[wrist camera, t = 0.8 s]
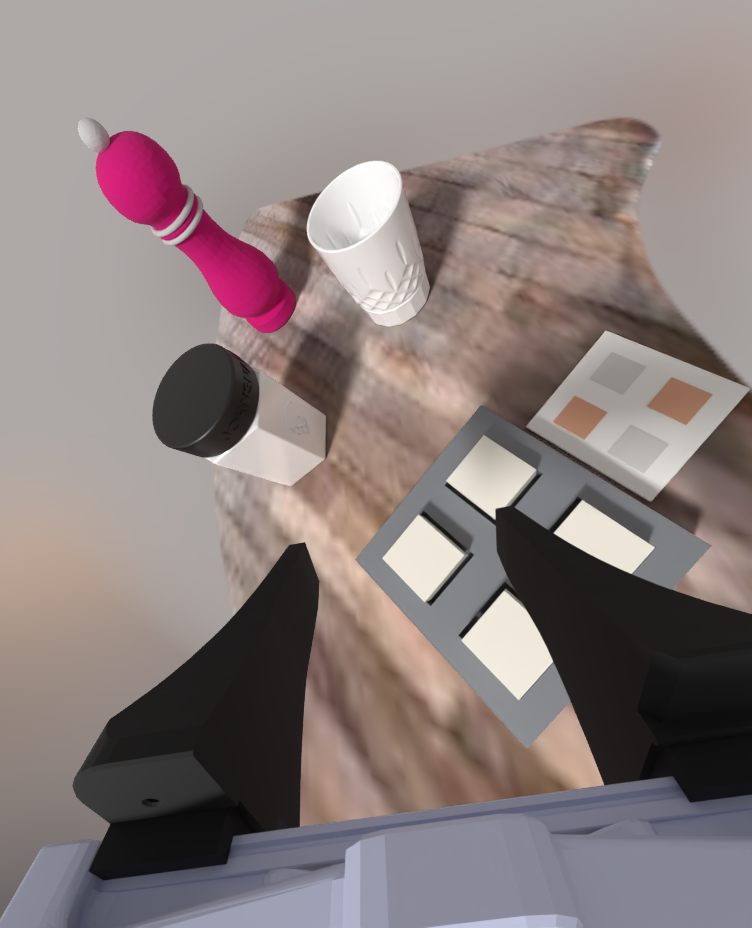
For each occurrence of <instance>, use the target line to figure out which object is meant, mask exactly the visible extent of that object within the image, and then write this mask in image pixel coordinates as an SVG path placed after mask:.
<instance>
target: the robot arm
mask: <svg viewBox="0 0 752 928" xmlns="http://www.w3.org/2000/svg"><path fill="white" fill-rule="evenodd" d="M495 516H496V546H497V553H498V556H499V558H500V561H501V563H502V565H503V568H504V570H505V572H506V575H507V577H508V579H509V580H510V582H511V584H512V586H513V587H514V589H515V591H516V593H517V595H518V596H519V598H520V600H521V601H522V603H523V605H524V607H525V608H526V610H527V612H528V614H529V615H530V617H531V619H532V621H533V622H534V624H535V626H536V628H537V629H538V631H539V633H540V635H541V637H542V639H543V641H544V643H545V645H546V647H547V649H548V651H549V653H550V656H551V658H552V660H553V662H554V664H555V667H556V669H557V671H558V673H559V675H560V678H561V680H562V682H563V685H564V687H565V689H566V692H567V694H568V696H569V698H570V701H571V703H572V705H573V708H574V710H575V713H576V715H577V717H578V720H579V722H580V725H581V727H582V730H583V732H584V734H585V737H586V739H587V742H588V744H589V747H590V749H591V752H592V754H593V757H594V759H595V762H596V764H597V767H598V770H599V772H600V775H601V777H602V780H603V782H604V786H597V787H590V788H582V789H575V790H568V791H560V792H553V793H546V794H538V795H531V796H524V797H516V798H509V799H502V800H494V801H487V802H480V803H472V804H465V805H458V806H450V807H443V808H436V809H428V810H421V811H414V812H407V813H399V814H392V815H385V816H377V817H370V818H363V819H355V820H348V821H341V822H333V823H326V824H319V825H311V826H304V827H300V779H301V753H302V733H303V715H304V701H305V688H306V678H307V670H308V664H309V658H310V652H311V646H312V640H313V635H314V629H315V623H316V617H317V611H318V598H319V580H318V577H317V574H316V572H315V569H314V566H313V563H312V561H311V558H310V555H309V552H308V549H307V547H306V544H305V542H304V543H298V544H293V545H289V546H288V548H287V549H286V550H285V552H284V553H283V554H282V556H281V557H280V558H279V560H278V561H277V563H276V564H275V565H274V567H273V568H272V569H271V571H270V572H269V573H268V575H267V576H266V577H265V579H264V580H263V581H262V583H261V584H260V585H259V587H258V588H257V589H256V590H255V592H254V593H253V594H252V595H251V596H250V598H249V599H248V600H247V601H246V602H245V604H244V605H243V606H242V607H241V608H240V610H239V611H238V612H237V613H236V614H235V615H234V616H233V617H232V618H231V619H230V621H229V622H228V623H227V624H226V625H225V626H224V627H223V628H222V629H221V630H220V631H219V632H218V633H217V634H216V635H215V636H214V637H213V638H212V639H211V640H210V641H208V642H207V643H206V644H205V645H204V646H203V647H202V648H201V649H200V650H199V651H198V652H196V653H195V654H194V655H193V656H192V657H191V658H190V659H189V660H188V661H186V662H185V663H184V664H183V665H182V666H180V667H179V668H178V669H177V670H176V671H175V672H173V673H172V674H171V675H170V676H168V677H167V678H166V679H165V680H163V681H162V682H161V683H159V684H158V685H157V686H156V687H154V688H153V689H152V690H150V691H149V692H148V693H146V694H145V695H144V696H142V697H141V698H139V699H138V700H136V701H135V702H134V703H132V704H131V705H130V706H128V707H127V708H125V709H124V710H123V711H121V712H120V713H118V714H117V715H115V716H114V717H113V718H111V719H110V720H109V721H108V723H107V725H106V726H105V728H104V729H103V731H102V733H101V735H100V736H99V738H98V740H97V741H96V743H95V745H94V746H93V748H92V750H91V752H90V753H89V755H88V756H87V758H86V760H85V761H84V763H83V765H82V767H81V768H80V770H79V772H78V773H77V775H76V777H75V778H74V782H73V789H74V792H75V794H76V797H77V798H78V799H79V800H80V801H81V802H82V803H83V804H85V805H86V806H87V807H89V808H90V809H91V810H93V811H94V812H95V813H97V814H98V815H100V816H101V817H102V818H103V819H105V820H106V821H107V822H109V823H110V827H109V829H108V831H107V833H106V835H105V837H104V839H103V841H102V842H101V841H97V840H79V841H73V842H65V843H58V844H51V845H46V846H45V847H43V848H41V850H40V852H39V853H38V855H37V857H36V859H35V860H34V862H33V864H32V865H31V867H30V869H29V871H28V872H27V874H26V876H25V878H24V879H23V881H22V883H21V884H20V886H19V888H18V890H17V891H16V893H15V895H14V897H13V899H12V900H11V902H10V904H9V905H8V907H7V909H6V910H5V912H4V914H3V916H2V917H1V919H0V928H752V614H749V613H745V612H742V611H738V610H735V609H731V608H728V607H724V606H721V605H717V604H713V603H710V602H707V601H704V600H701V599H698V598H695V597H692V596H689V595H686V594H683V593H680V592H677V591H674V590H671V589H668V588H666V587H663V586H660V585H657V584H655V583H652V582H650V581H647V580H645V579H643V578H640V577H638V576H635V575H633V574H630V573H628V572H626V571H623V570H621V569H619V568H617V567H615V566H613V565H611V564H608V563H606V562H604V561H602V560H600V559H598V558H596V557H594V556H592V555H590V554H588V553H586V552H585V551H583V550H581V549H579V548H578V547H576V546H574V545H572V544H570V543H569V542H567V541H565V540H564V539H562V538H560V537H559V536H557V535H555V534H554V533H552V532H551V531H549V530H548V529H546V528H544V527H543V526H541V525H540V524H538V523H537V522H535V521H534V520H532V519H531V518H529V517H528V516H527V515H525V514H524V513H522V512H521V511H519V510H518V509H516V508H515V507H513V506H507V507H501V508H496V509H495Z"/></svg>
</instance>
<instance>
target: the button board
mask: <svg viewBox="0 0 752 928" xmlns="http://www.w3.org/2000/svg"><path fill="white" fill-rule="evenodd" d="M483 435H484V436H486V437H487V438H489V439H491V440H492V441H494V442H495V443H497V444H498V445H500V446H501V447H503V448H504V449H506V450H507V451H509V452H510V453H512V454H513V455H515V456H516V457H518V458H519V459H521V460H522V461H524V462H526V463H527V464H529V465H530V466H532V467H533V468H535V469H536V476H535V477H534V478H533V479H532V480H531V481H530V483H529V484H528V485H527V486H526V487H525V489H524V490H523V491H522V492H521V493H520V495H519V496H518V497H517V498H516V499H515V500H514V502H513V503H512V504H511V505H510V506H513V507H515V508H516V509H518V510H519V511H521V512H522V513H524V514H525V515H527V516H528V517H529V518H531V519H532V520H534V521H535V522H537V523H538V524H540V525H541V526H543V527H544V528H546V529H548V530H549V531H551V532H552V533H554V532H555V531H556V530H557V528H558V527H559V526H560V525H561V524H562V523H563V521H564V520H565V519H566V518H567V517H568V516H569V515H570V513H571V512H572V511H573V510H574V509H575V508H576V506H577V505H578V504H579V503H580V502H581V501H582V500H583V501H585V502H586V503H588V504H589V505H591V506H592V507H594V508H595V509H597V510H598V511H600V512H602V513H603V514H605V515H606V516H608V517H609V518H611V519H612V520H614V521H615V522H617V523H618V524H620V525H621V526H623V527H624V528H626V529H627V530H629V531H630V532H632V533H633V534H635V535H637V536H638V537H640V538H641V539H643V540H644V541H646V542H647V543H649V544H650V545H652V546H653V547H655V548H654V550H653V551H652V552H651V553H650V554H649V555H648V556H647V557H646V558H645V560H644V561H643V562H642V563H641V564H640V565H639V566H638V567H637V569H636V570H635V571H634V572H633V573H632V574H633V575H635V576H638V577H640V578H643V579H645V580H647V581H650V582H652V583H655V584H657V585H660V586H663V587H666V588H668V589H671V590H672V589H673V588H674V587H675V585H676V584H677V583H678V582H679V581H680V580H681V579H682V578H683V577H684V576H685V574H686V573H687V572H688V571H689V570H690V569H691V568H692V567H693V566H694V565H695V563H696V562H697V561H698V560H699V559H700V558H701V557H702V556H703V555H704V553H705V552H706V551H707V550H708V549H709V548H710V547H711V545H710V544H708V543H706V542H705V541H703V540H701V539H700V538H698V537H696V536H695V535H693V534H691V533H690V532H688V531H687V530H685V529H683V528H682V527H680V526H678V525H677V524H675V523H673V522H672V521H670V520H669V519H667V518H665V517H664V516H662V515H660V514H659V513H657V512H655V511H654V510H652V509H651V508H649V507H647V506H646V505H644V504H642V503H641V502H639V501H637V500H636V499H634V498H633V497H631V496H629V495H628V494H626V493H624V492H623V491H621V490H619V489H618V488H616V487H614V486H613V485H611V484H610V483H608V482H606V481H605V480H603V479H601V478H600V477H598V476H596V475H595V474H593V473H592V472H590V471H588V470H587V469H585V468H583V467H582V466H580V465H578V464H577V463H575V462H574V461H572V460H570V459H569V458H567V457H565V456H564V455H562V454H560V453H559V452H557V451H555V450H554V449H552V448H551V447H549V446H547V445H546V444H544V443H542V442H541V441H539V440H537V439H536V438H534V437H533V436H531V435H529V434H528V433H526V432H524V431H523V430H521V429H519V428H518V427H516V426H515V425H513V424H511V423H510V422H508V421H506V420H505V419H503V418H501V417H500V416H498V415H496V414H495V413H493V412H492V411H490V410H488V409H487V408H485V407H483V406H482V405H481V406H480V407H479V408H478V410H477V411H476V412H475V413H474V415H473V416H472V417H471V418H470V419H469V421H468V422H467V423H466V424H465V426H464V427H463V428H462V429H461V430H460V432H459V433H458V434H457V435H456V437H455V438H454V439H453V440H452V442H451V443H450V444H449V445H448V446H447V448H446V449H445V450H444V451H443V453H442V454H441V455H440V456H439V457H438V459H437V460H436V461H435V462H434V464H433V465H432V466H431V467H430V468H429V470H428V471H427V472H426V473H425V475H424V476H423V477H422V478H421V480H420V481H419V482H418V483H417V484H416V486H415V487H414V488H413V489H412V491H411V492H410V493H409V494H408V495H407V497H406V498H405V499H404V500H403V502H402V503H401V504H400V505H399V506H398V508H397V509H396V510H395V511H394V513H393V514H392V515H391V516H390V518H389V519H388V520H387V521H386V522H385V524H384V525H383V526H382V527H381V529H380V530H379V531H378V532H377V533H376V535H375V536H374V537H373V538H372V540H371V541H370V542H369V543H368V544H367V546H366V547H365V548H364V549H363V551H362V552H361V553H360V554H359V556H358V557H357V558H356V559H355V560H356V561H357V562H358V563H359V564H360V565H361V567H362V568H363V569H364V570H365V571H366V572H367V573H368V574H369V575H370V576H371V578H372V579H373V580H374V581H375V582H376V583H377V584H378V585H379V586H380V588H381V589H382V590H383V591H384V592H385V593H386V594H387V595H388V596H389V597H390V599H391V600H392V601H393V602H394V603H395V604H396V605H397V606H398V607H399V608H400V610H401V611H402V612H403V613H404V614H405V615H406V616H407V617H408V618H409V620H410V621H411V622H412V623H413V624H414V625H415V626H416V627H417V628H418V629H419V631H420V632H421V633H422V634H423V635H424V636H425V637H426V638H427V639H428V640H429V642H430V643H431V644H432V645H433V646H434V647H435V648H436V649H437V650H438V651H439V653H440V654H441V655H442V656H443V657H444V658H445V659H446V660H447V661H448V663H449V664H450V665H451V666H452V667H453V668H454V669H455V670H456V671H457V672H458V674H459V675H460V676H461V677H462V678H463V679H464V680H465V681H466V682H467V683H468V685H469V686H470V687H471V688H472V689H473V690H474V691H475V692H476V693H477V695H478V696H479V697H480V698H481V699H482V700H483V701H484V702H485V703H486V704H487V706H488V707H489V708H490V709H491V710H492V711H493V712H494V713H495V714H496V715H497V717H498V718H499V719H500V720H501V721H502V722H503V723H504V724H505V725H506V726H507V728H508V729H509V730H510V731H511V732H512V733H513V734H514V735H515V736H516V738H517V739H518V740H519V741H520V742H521V743H522V744H523V745H524V746H525V747H526V749H527V748H528V747H529V746H530V745H531V744H532V743H533V742H534V741H535V740H536V739H537V737H538V736H539V735H540V734H541V733H542V732H543V731H544V730H545V729H546V728H547V726H548V725H549V724H550V723H551V722H552V721H553V720H554V719H555V718H556V716H557V715H558V714H559V713H560V712H561V711H562V710H563V709H564V708H565V707H566V705H567V704H568V703H569V702H570V698H569V696H568V694H567V692H566V689H565V687H564V685H563V682H562V680H561V678H560V675H559V673H558V671H557V669H556V667H555V664H554V662H553V663H552V664H551V665H550V666H549V667H548V668H547V669H546V670H545V672H544V673H543V674H542V675H541V676H540V677H539V678H538V679H537V680H536V682H535V683H534V684H533V685H532V686H531V687H530V688H529V689H528V691H527V692H526V693H525V694H524V695H523V696H522V697H521V698H520V700H518V699H517V698H516V697H515V696H514V695H513V694H512V693H511V692H510V691H509V690H508V689H507V688H506V687H505V686H504V685H503V684H502V682H501V681H500V680H499V679H498V678H497V677H496V676H495V675H494V674H493V673H492V672H491V671H490V670H489V669H488V668H487V667H486V666H485V665H484V664H483V663H482V662H481V661H480V660H479V659H478V658H477V656H476V655H475V654H474V653H473V652H472V651H471V650H470V649H469V648H468V647H467V646H466V645H465V644H464V643H463V642H462V641H461V640H462V639H463V638H464V636H465V635H466V634H467V633H468V632H469V630H470V629H471V628H472V627H473V626H474V625H475V623H476V622H477V621H478V620H479V619H480V618H481V616H482V615H483V614H484V613H485V612H486V611H487V610H488V608H489V607H490V606H491V605H492V604H493V603H494V601H495V600H496V599H497V598H498V597H499V596H500V594H501V593H502V592H503V591H504V590H505V589H507V590H508V591H509V592H510V593H512V594H513V595H514V596H515V597H516V598H517V599H518V600H520V598H519V596H518V595H517V593H516V591H515V589H514V587H513V586H512V584H511V582H510V580H509V579H508V577H507V575H506V572H505V570H504V568H503V565H502V563H501V561H500V558H499V556H498V553H497V546H496V520H495V519H493V518H492V517H491V516H489V515H488V514H487V513H486V512H484V511H483V510H482V509H481V508H479V507H478V506H477V505H475V504H474V503H473V502H472V501H470V500H469V499H468V498H466V497H465V496H464V495H463V494H461V493H460V492H459V491H458V490H456V489H455V488H454V487H452V486H451V485H450V484H449V483H448V482H447V481H446V480H447V479H448V478H449V477H450V475H451V474H452V473H453V472H454V471H455V469H456V468H457V467H458V466H459V464H460V463H461V462H462V461H463V460H464V458H465V457H466V456H467V455H468V454H469V452H470V451H471V450H472V449H473V447H474V446H475V445H476V444H477V443H478V441H479V440H480V439H481V438H482V437H483ZM418 514H419V515H421V516H424V517H425V518H427V519H428V520H429V521H430V522H431V523H432V524H433V525H434V526H436V527H437V528H438V529H439V530H440V531H441V532H442V533H444V534H445V535H446V536H447V537H448V538H449V539H450V540H451V541H453V542H454V543H455V544H456V545H457V546H458V547H459V548H461V549H462V550H463V551H464V552H465V553H466V554H467V555H468V556H467V557H466V558H465V560H464V561H463V562H462V563H461V564H460V566H459V567H458V568H457V569H456V570H455V571H454V573H453V574H452V575H451V576H450V577H449V579H448V580H447V581H446V582H445V583H444V584H443V586H442V587H441V588H440V589H439V590H438V592H437V593H436V594H435V595H434V596H433V597H432V599H431V600H429V601H426V602H424V601H423V600H422V599H421V598H420V597H419V596H418V595H417V594H416V593H415V592H414V591H413V590H412V589H411V588H410V587H409V586H408V585H407V584H406V583H405V582H404V581H403V579H402V578H401V577H400V576H399V575H398V574H397V573H396V572H395V571H394V570H393V569H392V568H391V567H390V566H389V565H388V564H387V563H386V562H385V561H384V560H383V559H382V558H383V557H384V556H385V554H386V553H387V552H388V551H389V550H390V548H391V547H392V546H393V545H394V543H395V542H396V541H397V540H398V539H399V537H400V536H401V535H402V534H403V533H404V531H405V530H406V529H407V528H408V526H409V525H410V524H411V523H412V522H413V520H414V519H415V518H416V517H417V516H418ZM520 601H521V600H520ZM521 602H522V601H521Z"/></svg>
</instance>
